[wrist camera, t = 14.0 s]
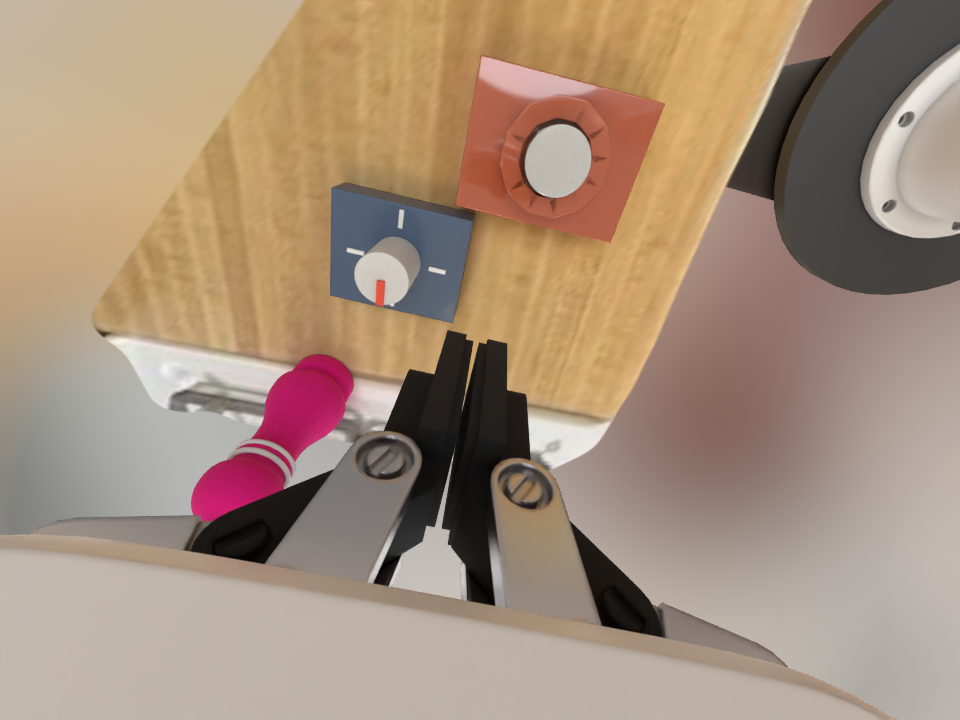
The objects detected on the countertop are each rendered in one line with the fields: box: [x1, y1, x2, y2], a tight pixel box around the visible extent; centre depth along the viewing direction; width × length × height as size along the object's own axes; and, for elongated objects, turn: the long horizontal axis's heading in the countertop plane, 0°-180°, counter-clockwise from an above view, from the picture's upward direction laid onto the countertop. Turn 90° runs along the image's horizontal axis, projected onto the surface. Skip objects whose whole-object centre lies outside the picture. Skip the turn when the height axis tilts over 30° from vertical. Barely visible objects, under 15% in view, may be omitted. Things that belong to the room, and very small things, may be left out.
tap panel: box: [330, 183, 476, 323], centre depth 33 cm, size 11×9×3 cm
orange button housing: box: [455, 55, 665, 243], centre depth 27 cm, size 12×9×6 cm
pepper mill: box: [191, 355, 353, 521], centre depth 34 cm, size 7×7×20 cm
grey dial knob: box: [354, 237, 421, 306], centre depth 30 cm, size 4×4×5 cm
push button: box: [524, 124, 592, 198], centre depth 24 cm, size 4×4×2 cm
